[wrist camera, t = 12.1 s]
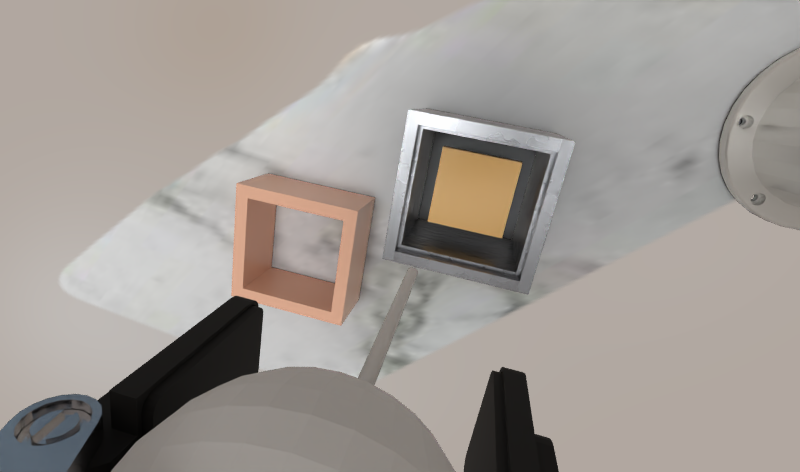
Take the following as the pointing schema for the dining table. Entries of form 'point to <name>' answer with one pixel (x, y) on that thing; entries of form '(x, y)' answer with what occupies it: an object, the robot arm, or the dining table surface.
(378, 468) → the lollipop
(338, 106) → the dining table surface
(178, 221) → the dining table surface
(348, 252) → the tool holder
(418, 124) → the box
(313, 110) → the dining table surface
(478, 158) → the tan square block
